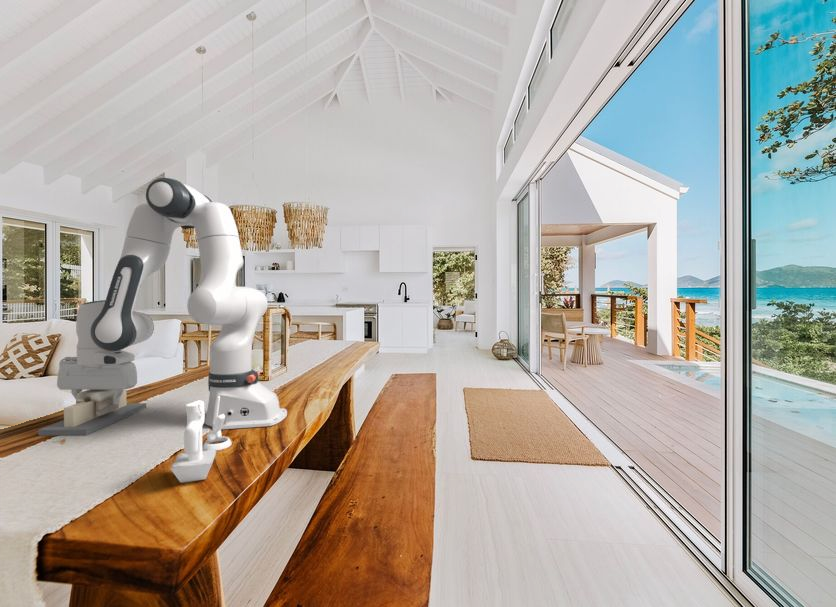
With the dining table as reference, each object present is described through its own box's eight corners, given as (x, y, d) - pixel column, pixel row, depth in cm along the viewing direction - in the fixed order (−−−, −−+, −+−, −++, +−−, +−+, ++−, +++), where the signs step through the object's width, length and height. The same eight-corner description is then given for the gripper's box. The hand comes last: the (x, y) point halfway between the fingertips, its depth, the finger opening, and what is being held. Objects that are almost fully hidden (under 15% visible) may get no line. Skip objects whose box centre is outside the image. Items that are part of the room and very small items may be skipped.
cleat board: (146, 407, 126) (146, 387, 126) (86, 435, 102) (85, 410, 102) (107, 408, 125) (107, 388, 125) (38, 435, 101) (37, 410, 101)
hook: (224, 437, 89) (205, 422, 90) (212, 465, 93) (194, 450, 94) (244, 423, 95) (227, 409, 96) (232, 450, 99) (215, 435, 100)
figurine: (168, 490, 74) (167, 411, 74) (180, 468, 83) (179, 398, 82) (211, 483, 76) (210, 407, 76) (218, 463, 85) (217, 395, 85)
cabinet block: (118, 408, 117) (118, 387, 117) (98, 416, 110) (98, 394, 109) (96, 408, 117) (96, 387, 117) (74, 416, 109) (74, 394, 109)
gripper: (49, 358, 110) (51, 407, 110) (125, 358, 110) (126, 407, 111) (69, 355, 116) (70, 401, 116) (140, 354, 117) (141, 400, 117)
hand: (98, 404), depth 114 cm, fingers open, 8 cm apart
